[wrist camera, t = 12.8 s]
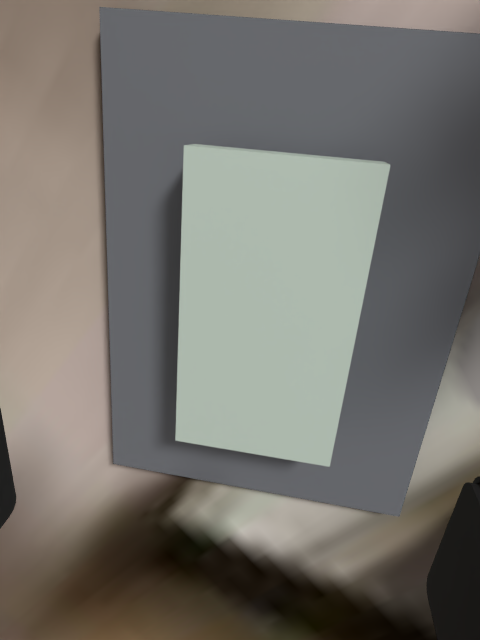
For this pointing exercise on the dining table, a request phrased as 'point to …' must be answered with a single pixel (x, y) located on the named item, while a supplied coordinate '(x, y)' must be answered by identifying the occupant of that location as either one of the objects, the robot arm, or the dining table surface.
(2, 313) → the dining table surface
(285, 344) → the lid
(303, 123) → the mat
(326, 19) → the dining table surface
